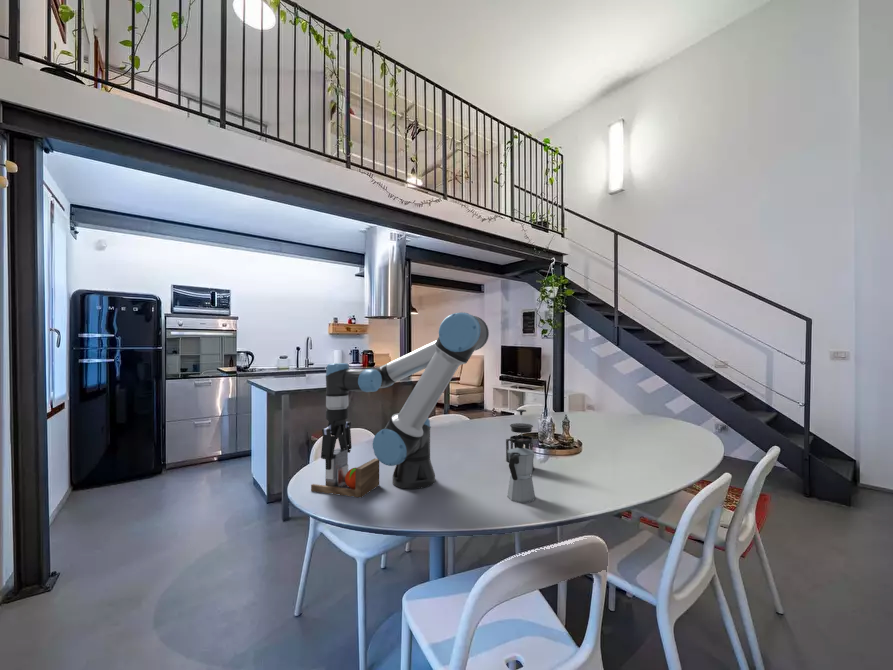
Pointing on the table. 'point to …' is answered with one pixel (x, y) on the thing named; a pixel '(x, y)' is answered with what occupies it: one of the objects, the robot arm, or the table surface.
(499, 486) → the table surface
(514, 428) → the french press
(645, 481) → the table surface
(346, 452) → the block
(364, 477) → the frame
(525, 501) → the coffee maker
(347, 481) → the clementine
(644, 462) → the table surface
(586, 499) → the table surface
